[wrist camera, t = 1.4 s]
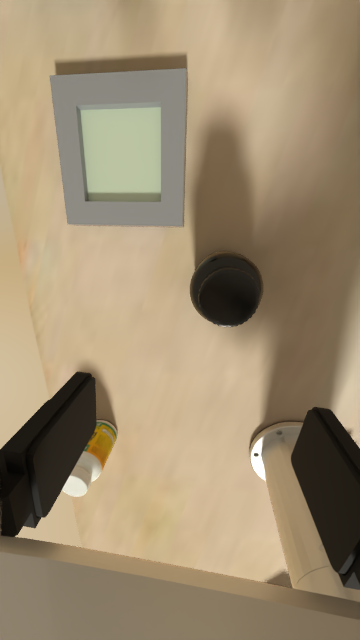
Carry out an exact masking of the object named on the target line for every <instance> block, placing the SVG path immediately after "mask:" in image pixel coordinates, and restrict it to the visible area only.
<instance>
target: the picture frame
mask: <svg viewBox="0 0 360 640" xmlns="http://www.w3.org/2000/svg"><path fill="white" fill-rule="evenodd" d="M50 82H51V91H52V99H53V107H54V115H55V124H56V132H57V140H58V148H59V157H60V165H61V173H62V181H63V190H64V198H65V206H66V214H67V223H68V224H69V225H81V226H138V227H184V201H185V165H186V129H187V92H188V77H187V68H181V69H163V70H145V71H126V72H108V73H89V74H71V75H53V76H50Z"/></svg>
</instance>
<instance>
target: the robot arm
mask: <svg viewBox="0 0 360 640" xmlns="http://www.w3.org/2000/svg"><path fill="white" fill-rule="evenodd" d="M95 429H96V392H95V378H94V377H92V375H91V374H90V373H84V372H76V373H75V374H74V375H73V376H72V377H71V378H70V379H69V381H68V382H67V383H66V384H65V385H64V386H63V387H62V388H61V389H60V390H59V391H58V392H57V393H56V394H55V395H54V396H53V397H52V398H51V399H50V400H48V401H47V402H46V403H45V404H44V405H43V406H42V407H41V408H40V409H39V410H38V411H37V412H36V413H35V414H34V415H33V416H32V417H31V418H30V419H29V420H28V421H27V422H26V423H25V424H24V426H22V428H21V429H20V430H19V431H18V432H17V433H16V434H15V435H14V436H13V437H12V438H11V439H10V440H9V441H8V442H7V443H6V444H5V445H4V446H3V447H2V448H1V449H0V640H360V448H359V447H358V446H357V444H356V443H355V442H354V440H353V439H352V438H351V436H350V435H349V434H348V432H347V431H346V430H345V428H344V427H343V426H342V424H341V423H340V422H339V420H338V419H337V417H336V416H335V415H334V413H333V412H332V411H331V410H329V409H324V408H318V407H314V408H313V409H312V410H309V411H308V412H307V415H306V418H305V420H304V423H303V422H283V423H278V424H275V425H272V426H270V427H268V428H266V429H264V430H263V431H261V432H260V433H259V434H258V435H257V436H256V437H255V439H254V440H253V442H252V444H251V447H250V460H251V464H252V466H253V469H254V470H255V472H256V473H257V474H258V475H259V476H260V477H261V478H262V479H263V480H265V481H266V483H267V487H268V491H269V495H270V499H271V503H272V507H273V511H274V515H275V520H276V524H277V528H278V532H279V536H280V540H281V544H282V548H283V552H284V556H285V560H286V564H287V568H288V572H289V576H290V580H291V584H292V588H289V587H284V586H279V585H274V584H269V583H264V582H259V581H254V580H249V579H243V578H238V577H233V576H228V575H223V574H218V573H213V572H207V571H202V570H197V569H192V568H187V567H181V566H176V565H171V564H166V563H161V562H155V561H150V560H145V559H139V558H134V557H129V556H123V555H118V554H113V553H107V552H102V551H97V550H91V549H86V548H81V547H75V546H69V545H63V544H56V543H51V542H45V541H39V540H33V539H26V538H18V537H15V536H16V535H18V533H19V532H20V530H21V529H22V527H23V526H26V527H31V528H36V526H37V524H38V522H39V521H40V519H41V517H46V516H47V515H48V513H49V512H50V510H51V508H52V506H53V504H54V503H55V501H56V499H57V497H58V496H59V494H60V492H61V490H62V489H63V487H64V485H65V483H66V481H67V480H68V478H69V476H70V474H71V473H72V471H73V469H74V467H75V465H76V464H77V462H78V460H79V458H80V457H81V455H82V453H83V451H84V449H85V448H86V446H87V444H88V442H89V441H90V439H91V437H92V435H93V433H94V431H95Z"/></svg>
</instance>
